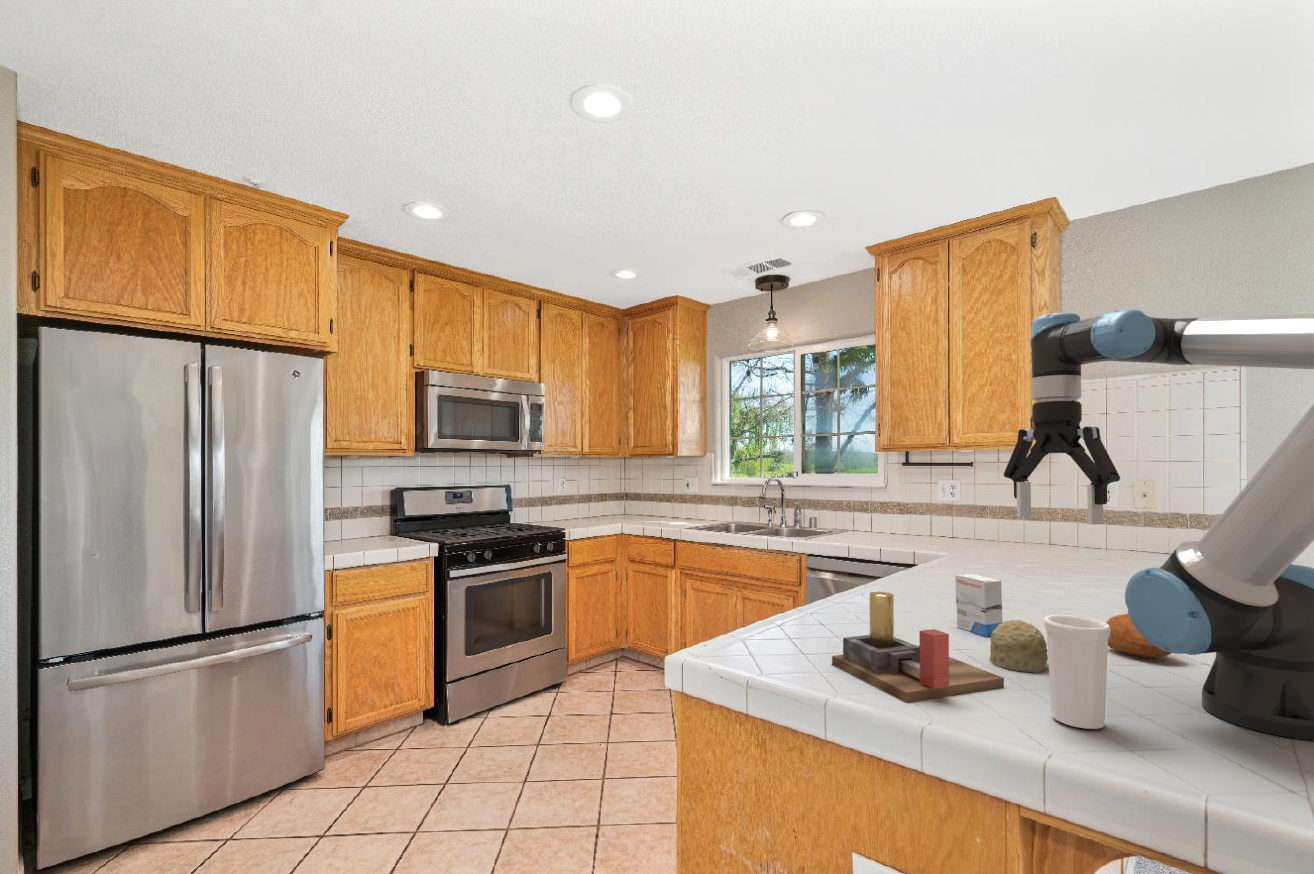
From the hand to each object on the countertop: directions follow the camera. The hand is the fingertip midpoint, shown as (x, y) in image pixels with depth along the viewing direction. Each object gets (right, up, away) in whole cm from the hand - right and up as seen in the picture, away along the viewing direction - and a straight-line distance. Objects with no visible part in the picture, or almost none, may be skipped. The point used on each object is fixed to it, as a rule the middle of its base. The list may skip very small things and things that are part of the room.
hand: (1057, 520), depth 113 cm
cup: (-11, -26, -23) cm, 36 cm away
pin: (-29, -24, -10) cm, 39 cm away
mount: (-27, -26, -3) cm, 38 cm away
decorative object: (-5, -27, +3) cm, 28 cm away
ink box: (-1, -28, +25) cm, 37 cm away
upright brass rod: (-32, -25, -1) cm, 41 cm away
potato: (+21, -27, +9) cm, 36 cm away
